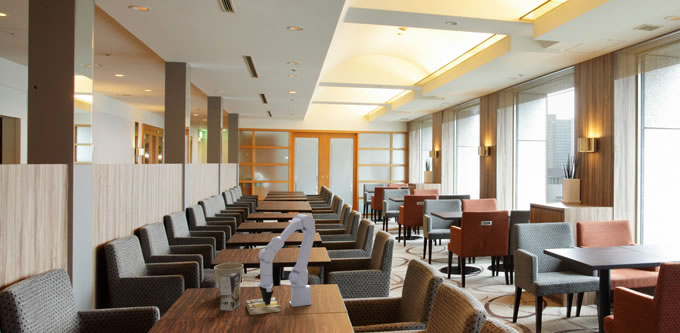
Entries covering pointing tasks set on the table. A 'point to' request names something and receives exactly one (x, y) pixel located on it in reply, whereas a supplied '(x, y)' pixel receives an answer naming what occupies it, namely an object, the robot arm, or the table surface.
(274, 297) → the tall white tube
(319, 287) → the table surface
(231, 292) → the coffee box
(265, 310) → the rack
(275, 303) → the pale yellow cylinder
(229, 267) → the plant pot
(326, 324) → the table surface
